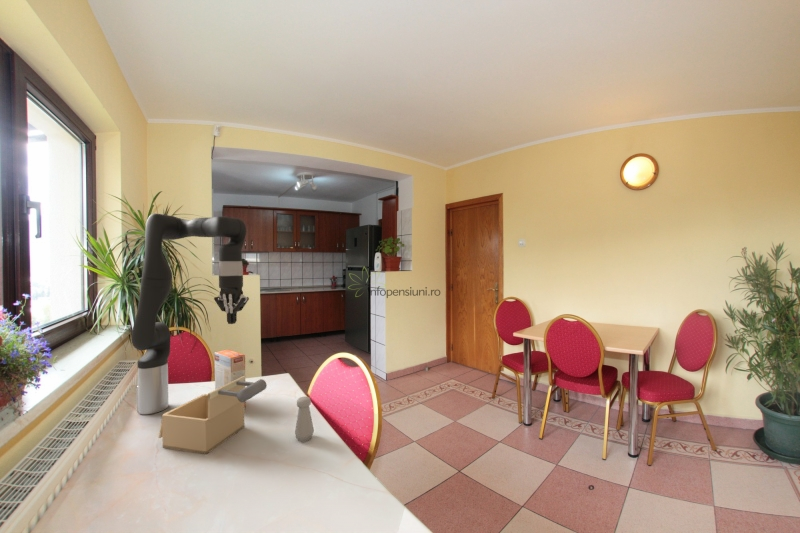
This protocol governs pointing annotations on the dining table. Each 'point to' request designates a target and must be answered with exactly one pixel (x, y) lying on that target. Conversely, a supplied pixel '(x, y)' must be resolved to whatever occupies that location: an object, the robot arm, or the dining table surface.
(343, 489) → the dining table surface
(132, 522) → the dining table surface
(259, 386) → the door with pull handle
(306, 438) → the salt shaker
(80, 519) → the dining table surface
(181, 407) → the tan open box
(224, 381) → the cracker box
